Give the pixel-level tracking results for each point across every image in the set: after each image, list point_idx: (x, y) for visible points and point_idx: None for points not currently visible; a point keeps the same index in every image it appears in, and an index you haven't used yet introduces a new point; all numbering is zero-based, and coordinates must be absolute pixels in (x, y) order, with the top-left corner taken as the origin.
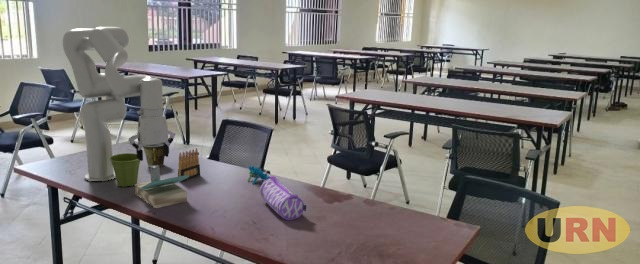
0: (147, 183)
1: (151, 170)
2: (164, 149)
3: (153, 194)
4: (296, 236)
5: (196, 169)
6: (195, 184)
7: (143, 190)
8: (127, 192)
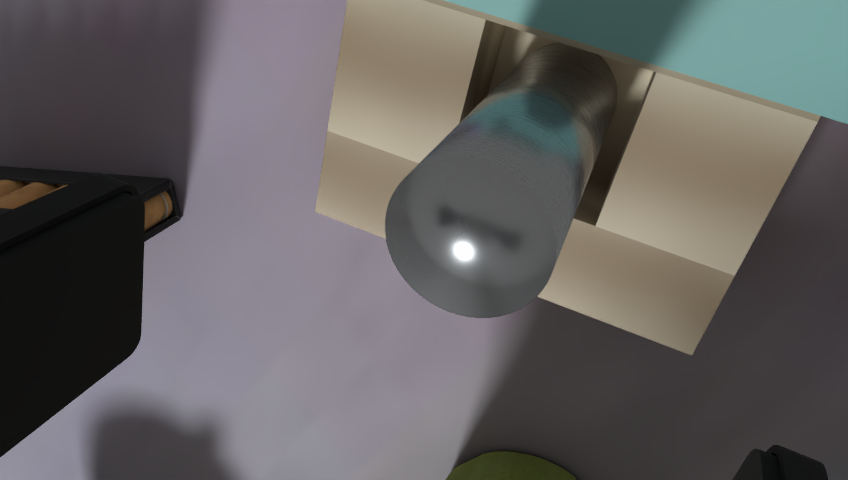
0: (569, 252)
1: (567, 224)
2: (13, 361)
3: None
4: None
5: None
6: (104, 11)
7: None
8: (685, 391)
